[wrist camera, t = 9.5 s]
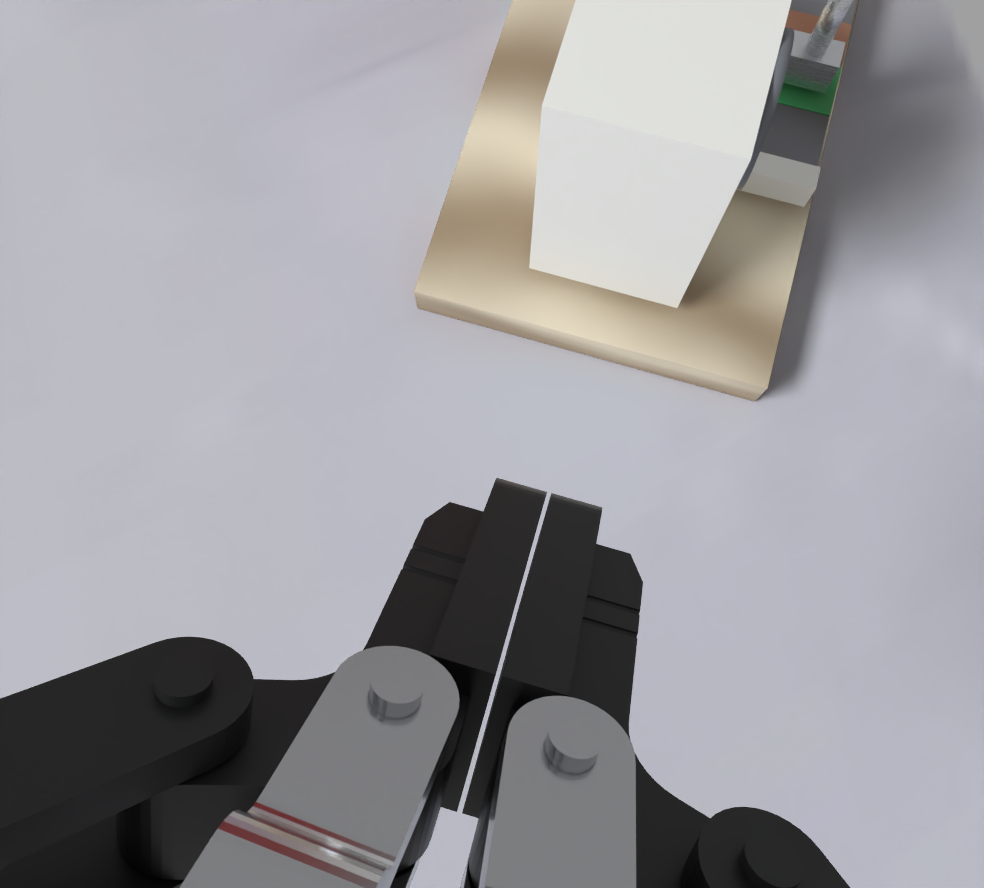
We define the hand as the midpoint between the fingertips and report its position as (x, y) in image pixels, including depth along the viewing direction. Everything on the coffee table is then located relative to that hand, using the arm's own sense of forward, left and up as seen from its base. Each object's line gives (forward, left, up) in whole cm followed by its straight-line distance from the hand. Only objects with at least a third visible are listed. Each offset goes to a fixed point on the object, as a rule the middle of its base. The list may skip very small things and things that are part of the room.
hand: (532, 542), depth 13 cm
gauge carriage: (-6, +13, -15) cm, 21 cm away
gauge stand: (-9, +15, -17) cm, 25 cm away
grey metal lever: (-6, +20, -15) cm, 26 cm away
